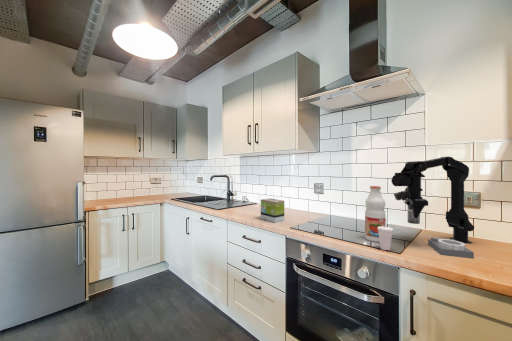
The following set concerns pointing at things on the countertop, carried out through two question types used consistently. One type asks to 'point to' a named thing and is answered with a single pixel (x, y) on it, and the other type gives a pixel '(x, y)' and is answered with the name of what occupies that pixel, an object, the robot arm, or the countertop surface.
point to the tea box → (272, 210)
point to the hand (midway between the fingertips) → (413, 217)
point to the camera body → (450, 247)
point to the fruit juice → (374, 214)
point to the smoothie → (385, 237)
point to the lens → (412, 216)
